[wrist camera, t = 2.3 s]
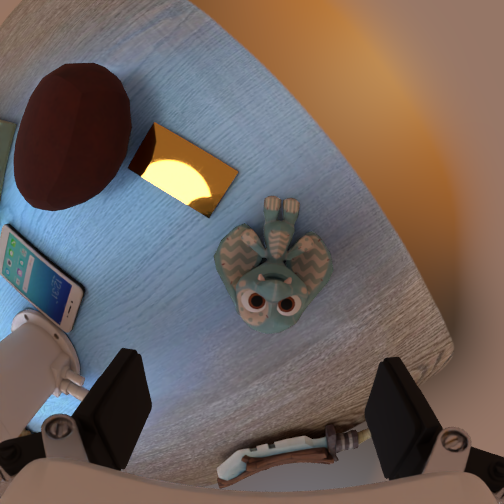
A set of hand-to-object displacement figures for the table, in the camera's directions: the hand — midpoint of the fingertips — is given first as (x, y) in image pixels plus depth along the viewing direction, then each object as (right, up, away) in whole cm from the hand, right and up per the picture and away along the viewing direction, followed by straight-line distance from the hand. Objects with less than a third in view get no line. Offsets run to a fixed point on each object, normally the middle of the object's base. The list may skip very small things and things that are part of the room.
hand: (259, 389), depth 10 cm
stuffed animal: (+2, +10, +14) cm, 18 cm away
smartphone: (-27, +2, +19) cm, 33 cm away
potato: (-15, +16, +15) cm, 27 cm away
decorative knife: (+21, -16, +21) cm, 34 cm away
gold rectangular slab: (-5, +15, +15) cm, 21 cm away
